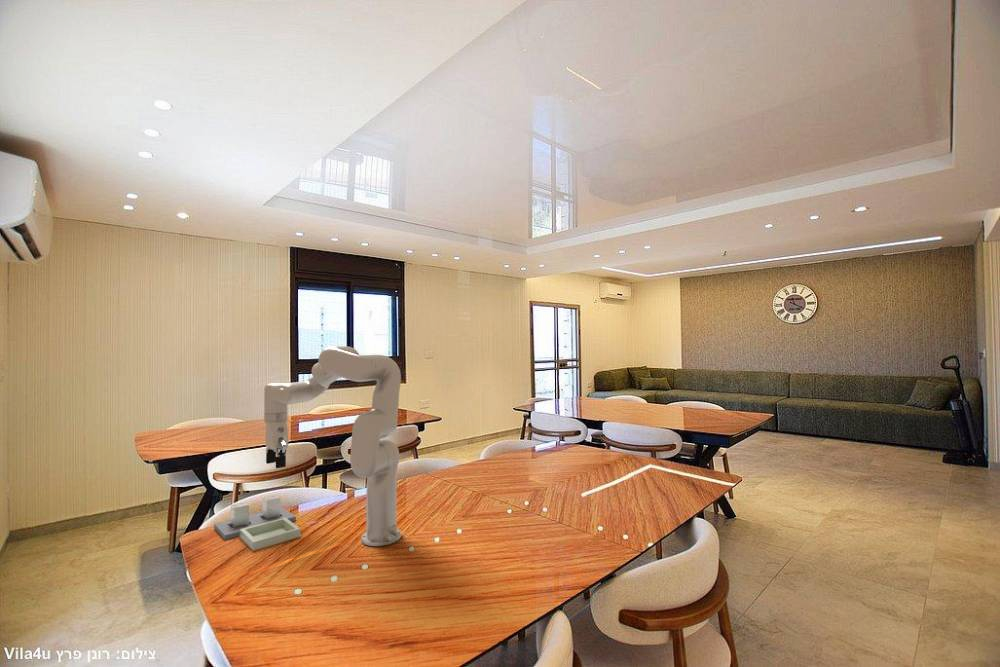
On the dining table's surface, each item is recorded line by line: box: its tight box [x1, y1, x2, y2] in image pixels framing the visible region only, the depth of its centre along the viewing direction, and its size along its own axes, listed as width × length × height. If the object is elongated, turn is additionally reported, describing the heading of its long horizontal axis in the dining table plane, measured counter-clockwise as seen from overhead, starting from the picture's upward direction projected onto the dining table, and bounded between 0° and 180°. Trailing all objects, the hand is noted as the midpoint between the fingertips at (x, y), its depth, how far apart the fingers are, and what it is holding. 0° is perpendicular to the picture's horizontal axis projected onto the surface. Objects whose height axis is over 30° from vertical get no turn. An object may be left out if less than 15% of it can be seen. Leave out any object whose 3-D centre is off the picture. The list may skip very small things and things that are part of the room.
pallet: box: [213, 506, 297, 541], centre depth 153 cm, size 14×22×2 cm, turn 135°
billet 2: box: [262, 494, 281, 520], centre depth 156 cm, size 4×4×9 cm
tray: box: [239, 518, 302, 552], centre depth 142 cm, size 14×14×4 cm
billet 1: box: [230, 501, 250, 529], centre depth 149 cm, size 4×4×9 cm
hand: (275, 465), depth 158 cm, fingers open, 9 cm apart
